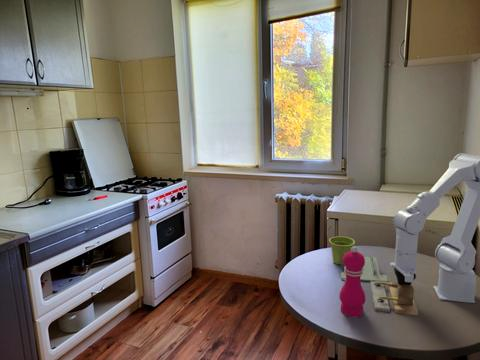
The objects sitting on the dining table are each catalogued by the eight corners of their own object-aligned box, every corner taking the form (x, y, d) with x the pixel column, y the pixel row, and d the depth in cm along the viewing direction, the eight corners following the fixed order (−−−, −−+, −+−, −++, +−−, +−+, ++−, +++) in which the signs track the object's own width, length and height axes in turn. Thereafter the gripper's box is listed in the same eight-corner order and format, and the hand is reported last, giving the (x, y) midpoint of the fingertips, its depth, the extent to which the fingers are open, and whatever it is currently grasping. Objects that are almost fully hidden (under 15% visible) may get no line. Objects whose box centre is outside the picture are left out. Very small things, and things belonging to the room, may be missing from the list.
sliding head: (411, 301, 104) (412, 285, 103) (412, 305, 101) (414, 289, 100) (378, 297, 106) (379, 282, 105) (379, 301, 104) (380, 286, 103)
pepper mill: (365, 319, 98) (368, 253, 94) (339, 316, 100) (340, 250, 96) (364, 306, 104) (366, 243, 100) (339, 303, 106) (340, 241, 102)
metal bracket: (339, 250, 131) (381, 252, 128) (338, 262, 134) (380, 264, 131) (342, 277, 119) (389, 280, 115) (341, 289, 121) (387, 293, 118)
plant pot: (358, 265, 131) (359, 243, 129) (336, 268, 129) (336, 246, 127) (346, 255, 140) (346, 235, 138) (324, 258, 138) (324, 237, 136)
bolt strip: (382, 285, 116) (383, 282, 116) (389, 311, 101) (389, 308, 101) (370, 284, 117) (370, 281, 117) (374, 310, 102) (375, 306, 102)
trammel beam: (407, 287, 114) (407, 282, 114) (418, 315, 99) (418, 308, 99) (374, 284, 117) (375, 278, 116) (380, 310, 102) (380, 304, 101)
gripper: (388, 241, 111) (385, 280, 113) (395, 259, 97) (392, 304, 100) (412, 242, 109) (409, 282, 111) (423, 262, 95) (419, 307, 98)
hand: (403, 293), depth 105 cm, fingers closed
